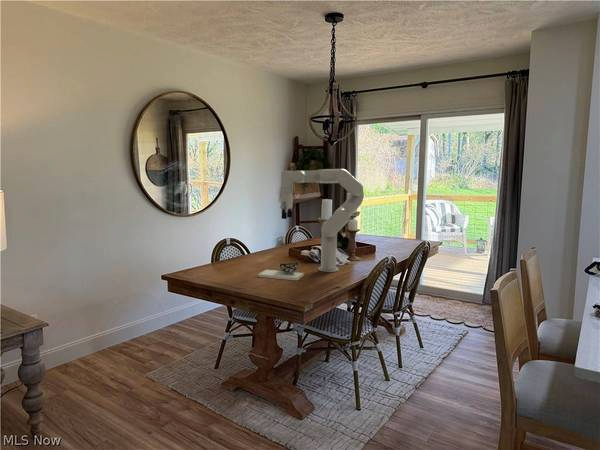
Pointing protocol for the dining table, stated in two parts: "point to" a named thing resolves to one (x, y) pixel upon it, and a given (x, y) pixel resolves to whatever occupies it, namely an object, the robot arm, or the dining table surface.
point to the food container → (289, 267)
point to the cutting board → (280, 275)
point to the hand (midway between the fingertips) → (286, 218)
